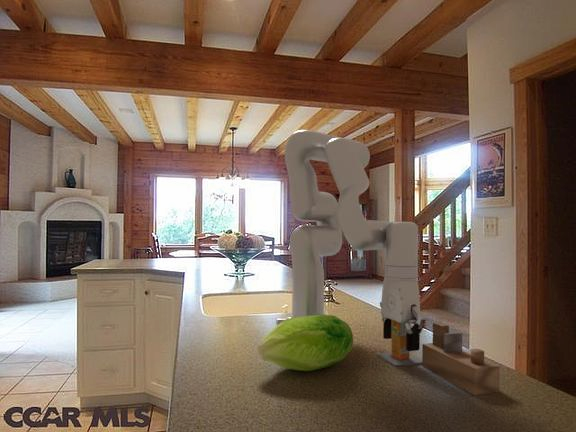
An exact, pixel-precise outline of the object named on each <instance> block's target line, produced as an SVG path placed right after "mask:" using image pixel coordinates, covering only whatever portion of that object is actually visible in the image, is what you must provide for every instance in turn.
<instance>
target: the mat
mask: <svg viewBox="0 0 576 432" xmlns="http://www.w3.org/2000/svg"><path fill="white" fill-rule="evenodd" d="M391 353H392V352H382V353H381V352H380V353H376V356H377V357H378V358H380V359H382V360H383V361H385V362H387V363H388V364H390V365H391V366H393V367H395V368H399V367H405V366H407V367H408V366H415V365H416V366H417V365H422V359H420V358H419V357H416V356H415V355H413V354H411V353H410V358H408V359H404V360H398V359H396V358H394V357H392V356H391Z"/></svg>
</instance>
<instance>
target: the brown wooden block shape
mask: <svg viewBox="0 0 576 432" xmlns="http://www.w3.org/2000/svg"><path fill="white" fill-rule="evenodd" d="M421 350H422V351H421V352H422V355H421V357H422V358H421V360H422V364H421V365H422V367H424V368H425V369H427V370H429V371H430V372H432V373H434V374H436V375H438V376H439V377H441V378H443V379H446V380H447V381H448V382H450V383H453V384H454V385H455V386H458V387H460V388H461V389H463V390H465V391H467V392H468V393H470V394H472V395H474V396H478V395H485V394H491V393H498V392H500V371H501V370H500V369H501V368H500V365H498V364H496V363H494V362H491V361H489V360H487V359H485V351H484V350H483V349H478V348H473V349H470V352H468V351H466V350H464V349H463V332H461V331H459V332H450V325H449V324H446V323H443V322H441V321H438V322H436V321H435V322H432V342H430V343H429V342H428V343H422V349H421Z"/></svg>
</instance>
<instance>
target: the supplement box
mask: <svg viewBox="0 0 576 432" xmlns="http://www.w3.org/2000/svg"><path fill="white" fill-rule="evenodd" d="M408 320H409V319H408ZM406 333H408V330H407V328H406V325H405V323H403V324H401V323H398V322H395V321H393V320H391V345H390V346H391V350H390V351H391V352H392V353H391V352H390V353H391V356H392V357H394V358H396V359H398V360H404V359H408V358H410V354H411V353H410V351H407V350H406Z"/></svg>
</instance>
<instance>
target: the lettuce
mask: <svg viewBox="0 0 576 432" xmlns="http://www.w3.org/2000/svg"><path fill="white" fill-rule="evenodd" d="M353 347H354V334H353V332H352V329H351V327H350V325H349V324H348V323H347V322H346V321H344V320H343V319H340V318H339V317H337V316H335V315H331V314H330V315H328V314H324V315H322V314H316V315H309V316H301V317H293V318H290V319H288V320H286V321H284V322H282V323H280V324H279V325H276V326H274V327H273V328H272V329H271V330H270V332H269V333H267V335H266V336H265V337H264V338H262V339H261V340H260V341H259V343H258V347H257V352H258V356H259V357H260V359H261V360H262V361H265V362H270V363H273V364H276V365H277V366H279V367H281V368H284V369H287V370H295V371H303V372H305V371H306V372H312V371H315V370H316V371H317V370H320V369H325V368H328V367H330V366H331V367H332V366H333V365H335V364H337V363H340V362H341V361H343V360H344V359H345V358H346V356H347V355H348V354H349V353H350V352H351V351H352V348H353Z"/></svg>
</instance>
